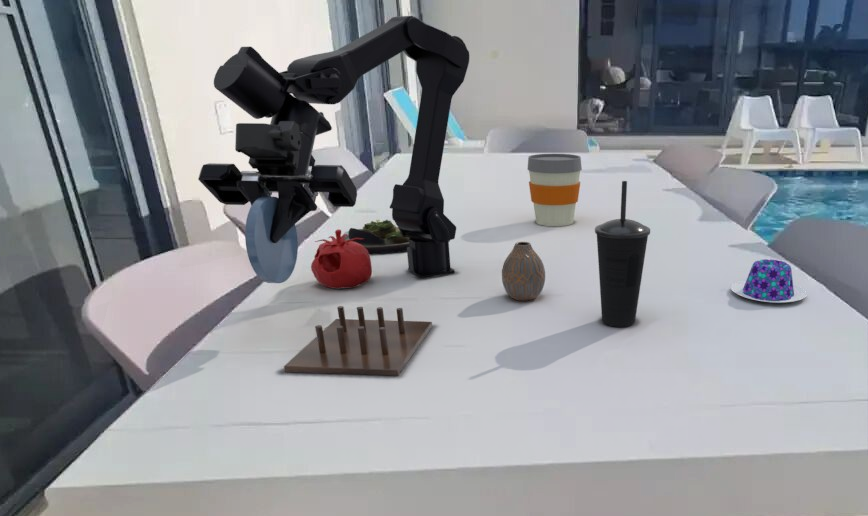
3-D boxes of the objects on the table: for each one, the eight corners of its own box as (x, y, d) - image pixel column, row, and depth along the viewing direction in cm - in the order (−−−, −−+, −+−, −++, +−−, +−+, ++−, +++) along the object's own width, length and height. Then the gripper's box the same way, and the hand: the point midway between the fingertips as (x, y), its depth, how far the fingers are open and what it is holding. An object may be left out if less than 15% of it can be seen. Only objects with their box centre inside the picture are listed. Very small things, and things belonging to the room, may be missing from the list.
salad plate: (340, 233, 141) (337, 212, 139) (423, 229, 145) (421, 209, 143) (331, 256, 124) (327, 233, 122) (424, 251, 128) (422, 228, 126)
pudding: (716, 294, 104) (719, 263, 102) (752, 278, 112) (756, 249, 110) (785, 312, 97) (790, 279, 95) (818, 294, 105) (823, 263, 103)
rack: (336, 323, 92) (332, 295, 90) (432, 326, 91) (429, 298, 89) (284, 372, 77) (278, 339, 76) (398, 375, 77) (394, 343, 75)
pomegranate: (357, 271, 115) (350, 219, 112) (385, 283, 109) (379, 229, 105) (303, 282, 109) (294, 228, 105) (330, 296, 103) (321, 239, 99)
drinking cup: (649, 315, 96) (658, 178, 87) (638, 333, 89) (646, 187, 81) (600, 309, 98) (604, 175, 89) (585, 326, 91) (588, 184, 83)
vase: (552, 293, 105) (552, 240, 101) (533, 306, 99) (532, 251, 95) (515, 287, 107) (514, 236, 104) (494, 300, 101) (492, 246, 98)
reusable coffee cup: (523, 226, 148) (521, 159, 142) (534, 215, 159) (533, 152, 153) (576, 229, 146) (577, 161, 140) (584, 217, 157) (585, 154, 151)
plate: (294, 270, 90) (281, 190, 85) (303, 271, 89) (290, 190, 85) (254, 293, 79) (237, 203, 75) (264, 293, 79) (247, 203, 75)
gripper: (188, 96, 79) (154, 203, 74) (335, 97, 78) (312, 206, 73) (235, 154, 89) (209, 252, 84) (366, 156, 89) (347, 255, 83)
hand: (266, 241), depth 81 cm, fingers closed on plate, 1 cm apart
